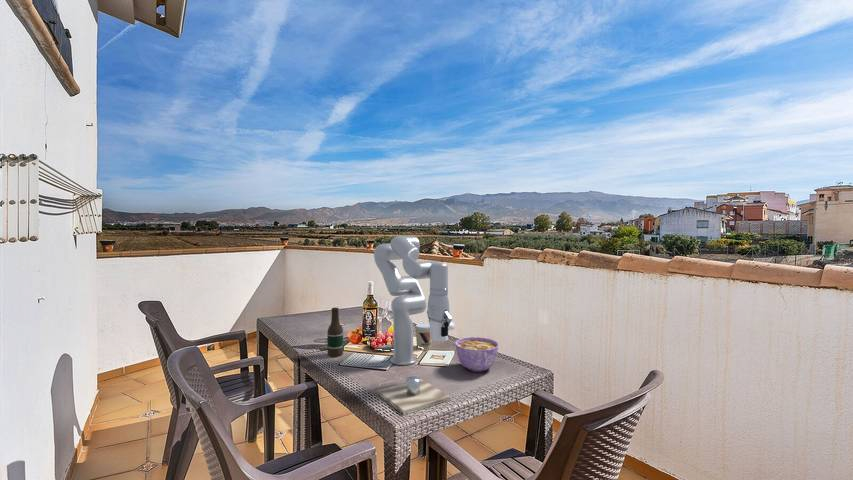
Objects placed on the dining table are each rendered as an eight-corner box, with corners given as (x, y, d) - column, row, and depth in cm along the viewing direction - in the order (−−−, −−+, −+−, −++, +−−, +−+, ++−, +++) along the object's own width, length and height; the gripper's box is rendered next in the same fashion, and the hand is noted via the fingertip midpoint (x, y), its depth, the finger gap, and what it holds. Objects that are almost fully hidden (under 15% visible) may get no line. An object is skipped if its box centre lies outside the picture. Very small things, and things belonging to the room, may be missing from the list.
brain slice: (361, 346, 208) (361, 341, 208) (387, 341, 218) (387, 335, 218) (379, 356, 193) (379, 350, 192) (407, 349, 203) (407, 344, 203)
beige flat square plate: (377, 394, 148) (377, 376, 148) (420, 382, 159) (420, 365, 159) (404, 415, 131) (404, 395, 131) (450, 400, 143) (450, 381, 142)
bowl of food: (498, 378, 163) (498, 351, 163) (452, 374, 167) (452, 348, 167) (499, 362, 183) (499, 338, 183) (457, 359, 187) (457, 336, 187)
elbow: (426, 338, 162) (426, 319, 162) (447, 333, 168) (447, 315, 168) (437, 342, 156) (437, 323, 156) (457, 338, 162) (457, 319, 162)
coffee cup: (419, 351, 200) (419, 328, 199) (412, 346, 208) (412, 324, 208) (435, 348, 203) (435, 326, 203) (428, 343, 212) (428, 322, 211)
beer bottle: (346, 354, 195) (346, 307, 194) (335, 358, 188) (334, 310, 187) (335, 351, 199) (335, 305, 198) (324, 355, 192) (323, 308, 192)
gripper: (419, 290, 165) (419, 330, 166) (444, 296, 151) (444, 340, 152) (434, 288, 170) (433, 328, 170) (458, 294, 155) (458, 337, 156)
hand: (438, 333), depth 161 cm, fingers closed on elbow, 7 cm apart
